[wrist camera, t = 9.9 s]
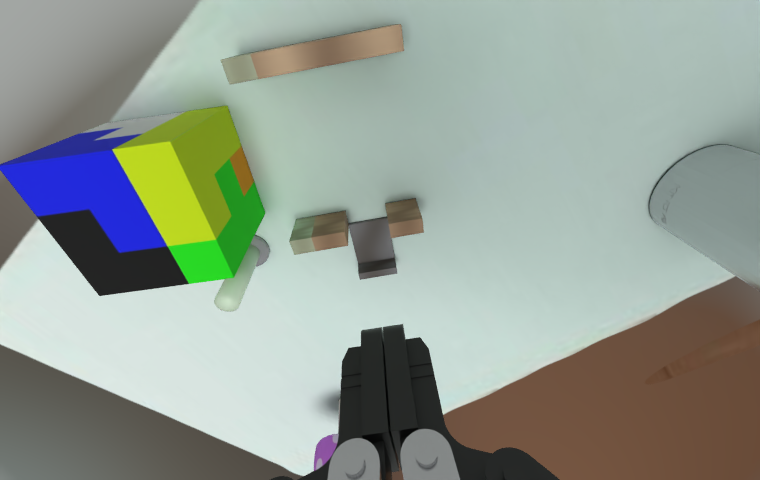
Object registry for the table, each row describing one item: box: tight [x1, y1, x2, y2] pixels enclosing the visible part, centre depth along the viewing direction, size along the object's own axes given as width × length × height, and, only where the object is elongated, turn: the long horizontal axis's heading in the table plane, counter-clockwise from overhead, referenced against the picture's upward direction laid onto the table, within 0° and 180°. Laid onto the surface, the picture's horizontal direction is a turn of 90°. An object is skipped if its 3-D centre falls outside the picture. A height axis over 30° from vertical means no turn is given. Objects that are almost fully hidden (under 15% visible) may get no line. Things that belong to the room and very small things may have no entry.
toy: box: [314, 399, 340, 471], centre depth 44 cm, size 7×7×15 cm
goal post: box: [214, 235, 270, 312], centre depth 31 cm, size 4×4×8 cm
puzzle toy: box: [0, 106, 265, 296], centre depth 26 cm, size 10×10×10 cm
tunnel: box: [221, 24, 424, 280], centre depth 29 cm, size 12×22×4 cm, turn 9°
